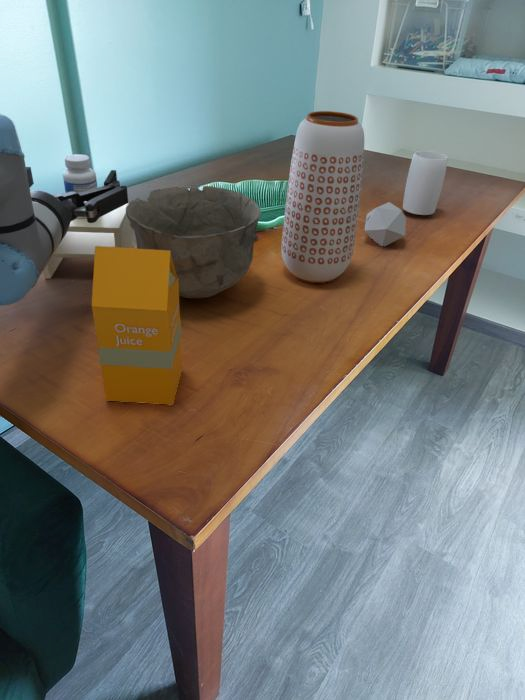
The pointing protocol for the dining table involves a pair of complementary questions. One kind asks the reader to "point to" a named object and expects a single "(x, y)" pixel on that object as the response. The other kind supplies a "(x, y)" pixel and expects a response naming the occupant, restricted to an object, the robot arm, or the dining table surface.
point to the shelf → (92, 237)
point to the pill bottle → (78, 174)
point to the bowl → (198, 234)
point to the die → (385, 224)
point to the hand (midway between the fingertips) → (72, 176)
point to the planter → (323, 196)
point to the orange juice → (137, 324)
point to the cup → (424, 182)
